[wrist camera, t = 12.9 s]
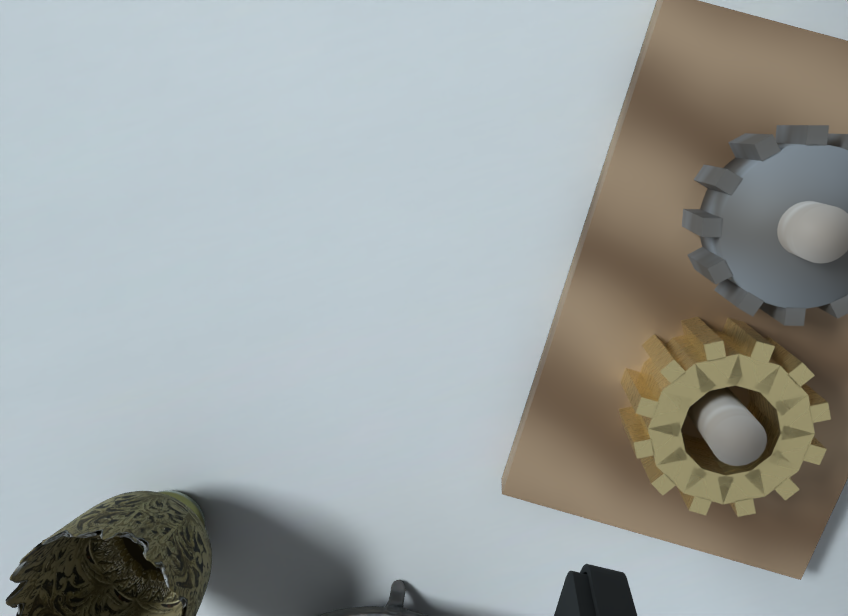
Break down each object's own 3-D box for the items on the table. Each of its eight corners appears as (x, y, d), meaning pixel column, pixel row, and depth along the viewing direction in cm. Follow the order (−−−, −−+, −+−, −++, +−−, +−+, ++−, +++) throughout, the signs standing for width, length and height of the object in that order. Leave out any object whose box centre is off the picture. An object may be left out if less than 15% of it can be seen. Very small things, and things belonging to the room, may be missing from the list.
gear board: (657, -2, 30) (697, -33, 24) (1000, 91, 29) (1125, 82, 23) (501, 478, 35) (503, 548, 29) (787, 560, 35) (846, 648, 29)
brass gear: (651, 296, 31) (670, 317, 28) (821, 343, 31) (861, 370, 27) (596, 450, 33) (608, 487, 29) (756, 495, 33) (786, 538, 29)
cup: (273, 500, 37) (214, 601, 29) (206, 607, 38) (134, 728, 31) (142, 422, 36) (47, 503, 28) (81, 533, 38) (-24, 637, 30)
